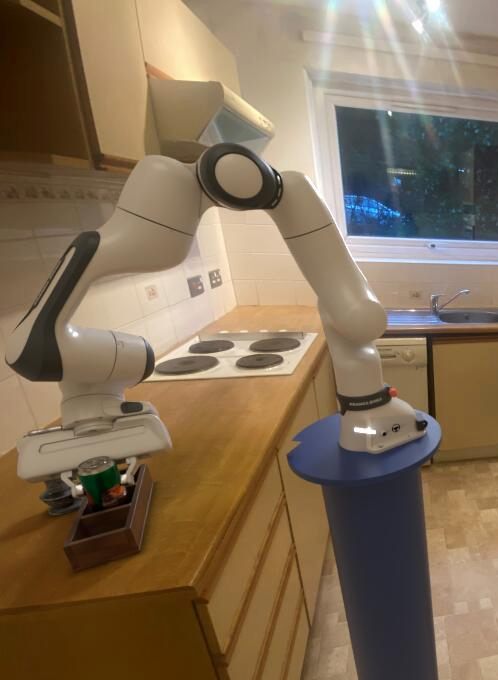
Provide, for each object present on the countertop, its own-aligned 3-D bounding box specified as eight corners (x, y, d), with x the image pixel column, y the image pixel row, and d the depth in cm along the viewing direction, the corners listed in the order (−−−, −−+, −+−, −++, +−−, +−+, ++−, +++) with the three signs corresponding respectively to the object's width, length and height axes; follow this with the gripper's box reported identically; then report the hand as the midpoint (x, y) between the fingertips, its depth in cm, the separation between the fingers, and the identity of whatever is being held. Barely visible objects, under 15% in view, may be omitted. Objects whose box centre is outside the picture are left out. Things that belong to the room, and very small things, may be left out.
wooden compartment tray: (153, 483, 90) (146, 462, 88) (140, 552, 72) (130, 528, 70) (102, 496, 86) (93, 475, 84) (74, 572, 68) (62, 547, 66)
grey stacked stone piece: (80, 493, 87) (56, 441, 82) (95, 501, 84) (71, 448, 80) (40, 510, 82) (13, 456, 77) (55, 519, 79) (27, 464, 75)
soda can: (115, 529, 76) (90, 472, 71) (91, 526, 77) (65, 469, 72) (143, 511, 81) (121, 456, 76) (120, 508, 81) (97, 453, 77)
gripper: (5, 427, 72) (10, 507, 68) (159, 400, 82) (171, 468, 78) (25, 439, 77) (30, 514, 73) (168, 412, 87) (179, 477, 83)
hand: (104, 490), depth 76 cm, fingers closed on soda can, 5 cm apart
